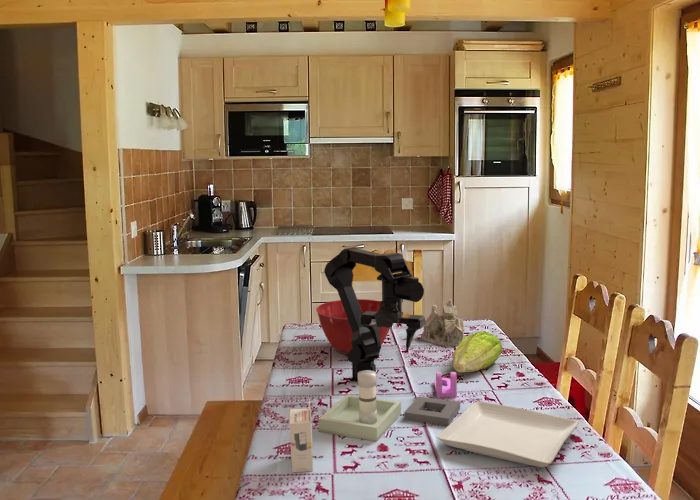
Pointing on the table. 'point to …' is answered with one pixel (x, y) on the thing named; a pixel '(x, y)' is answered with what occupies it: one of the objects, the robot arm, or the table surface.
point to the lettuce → (476, 352)
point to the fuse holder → (419, 414)
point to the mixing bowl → (344, 323)
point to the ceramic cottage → (444, 327)
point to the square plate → (509, 433)
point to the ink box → (301, 440)
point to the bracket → (446, 390)
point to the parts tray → (347, 423)
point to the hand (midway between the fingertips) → (392, 348)
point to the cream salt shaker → (367, 397)
